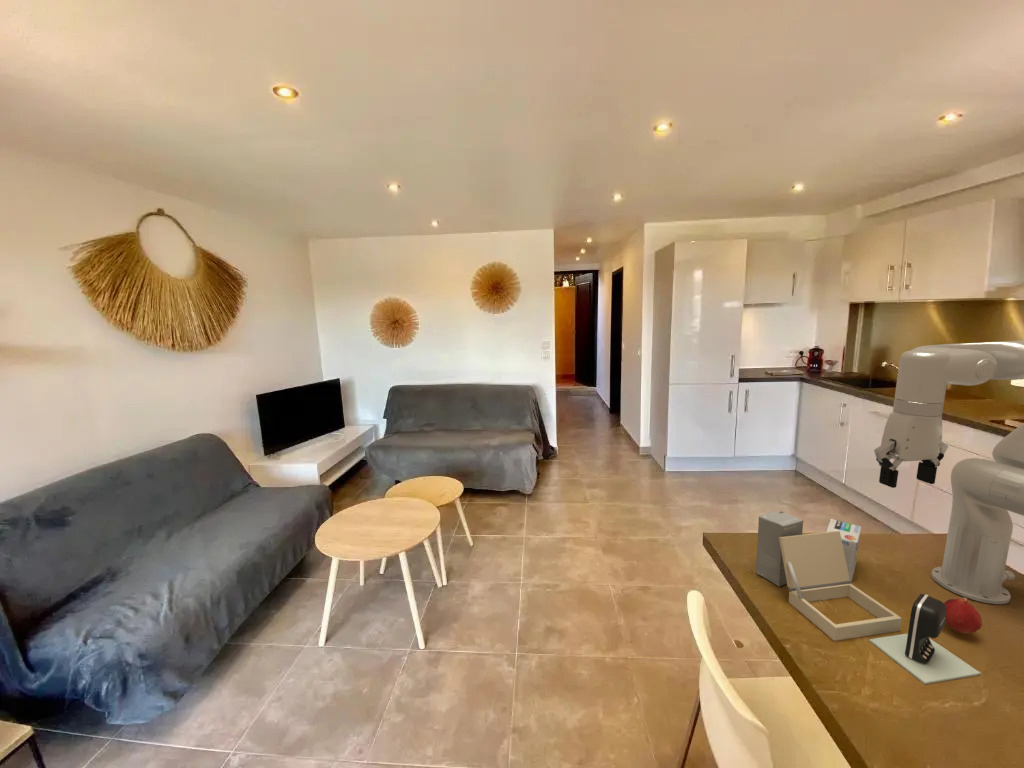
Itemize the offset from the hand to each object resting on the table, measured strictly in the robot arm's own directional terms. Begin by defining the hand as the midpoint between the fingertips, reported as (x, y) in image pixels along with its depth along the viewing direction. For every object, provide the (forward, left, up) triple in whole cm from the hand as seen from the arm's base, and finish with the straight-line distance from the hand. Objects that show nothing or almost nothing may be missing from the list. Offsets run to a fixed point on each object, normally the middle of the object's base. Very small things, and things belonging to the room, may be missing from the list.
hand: (906, 483), depth 90 cm
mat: (+11, +15, -28) cm, 34 cm away
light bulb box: (+1, -12, -29) cm, 31 cm away
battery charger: (+11, +15, -28) cm, 34 cm away
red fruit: (-3, +11, -28) cm, 31 cm away
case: (+16, +1, -28) cm, 33 cm away
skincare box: (+19, -12, -28) cm, 36 cm away
